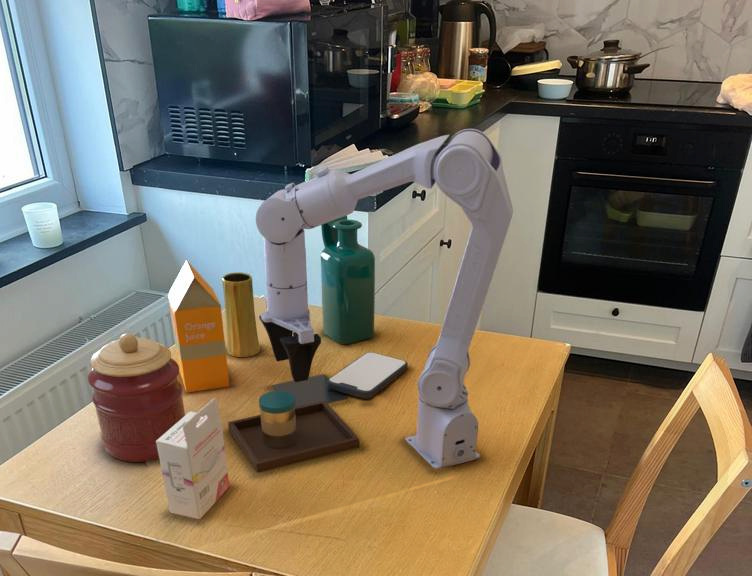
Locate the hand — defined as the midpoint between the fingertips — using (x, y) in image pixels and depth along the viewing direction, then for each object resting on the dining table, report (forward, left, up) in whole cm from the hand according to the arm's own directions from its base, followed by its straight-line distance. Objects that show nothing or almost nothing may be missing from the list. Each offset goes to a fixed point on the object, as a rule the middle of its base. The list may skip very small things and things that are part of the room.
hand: (291, 369), depth 117 cm
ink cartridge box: (-13, +19, -11) cm, 25 cm away
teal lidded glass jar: (-3, +4, -10) cm, 11 cm away
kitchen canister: (+6, +22, -11) cm, 25 cm away
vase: (+31, -2, -11) cm, 33 cm away
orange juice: (+23, +8, -11) cm, 27 cm away
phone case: (+10, -18, -10) cm, 23 cm away
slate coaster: (+10, -6, -10) cm, 16 cm away
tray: (-3, +2, -10) cm, 11 cm away
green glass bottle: (+30, -23, -11) cm, 39 cm away
